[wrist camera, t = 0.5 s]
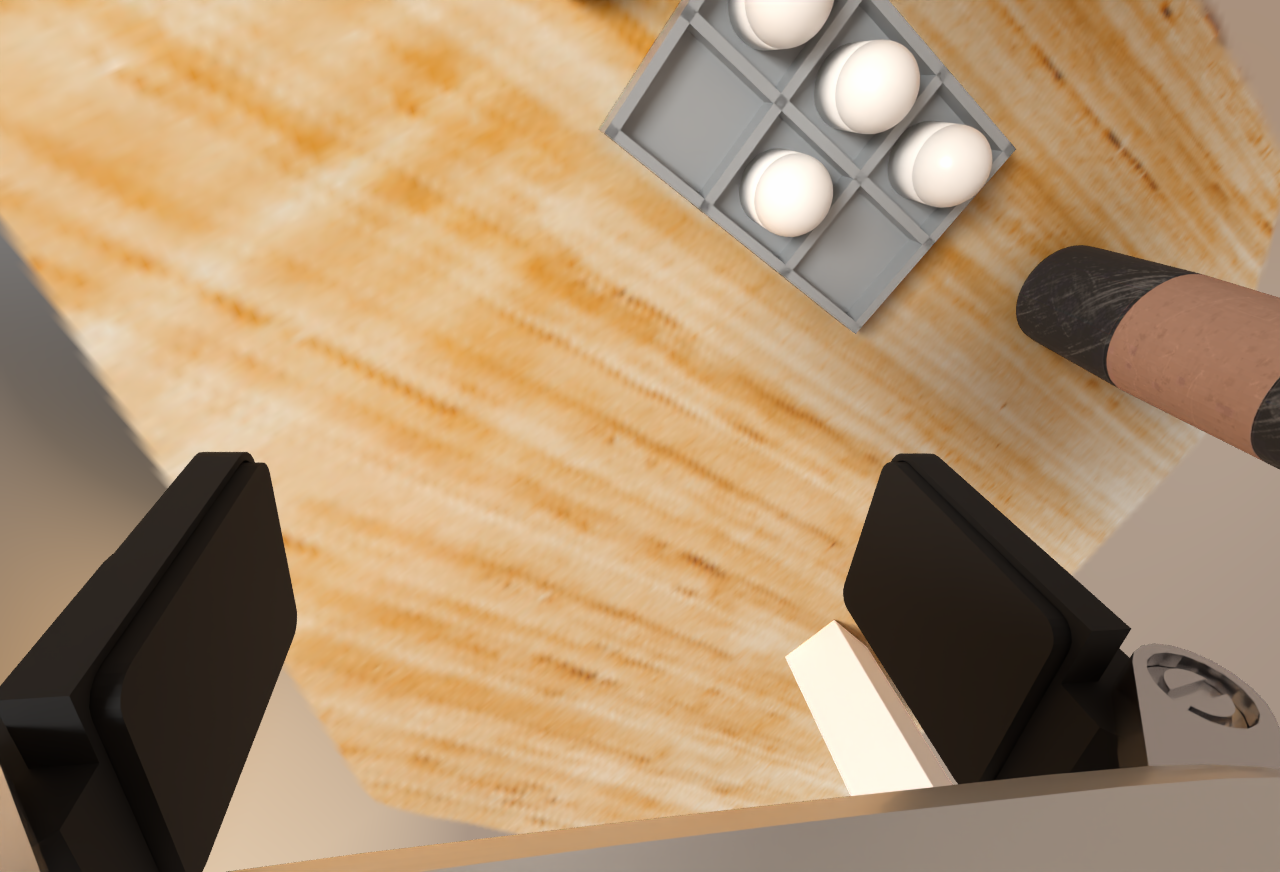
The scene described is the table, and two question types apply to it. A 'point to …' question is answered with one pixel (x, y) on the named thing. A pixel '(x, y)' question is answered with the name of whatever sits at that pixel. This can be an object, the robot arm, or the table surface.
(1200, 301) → the travel mug
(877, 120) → the carton
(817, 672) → the milk
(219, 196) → the table surface
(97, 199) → the table surface
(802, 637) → the table surface
